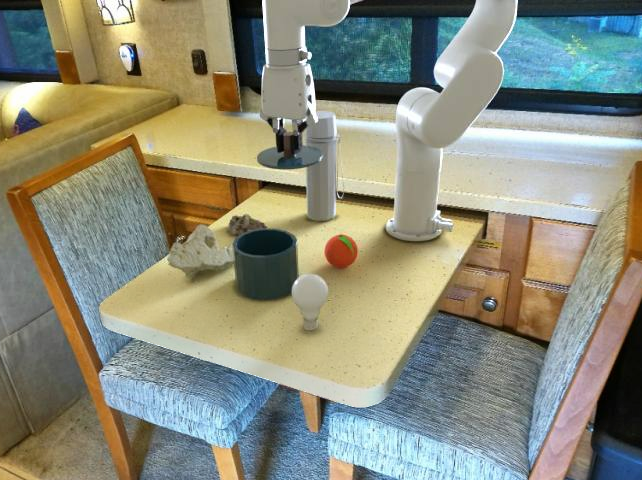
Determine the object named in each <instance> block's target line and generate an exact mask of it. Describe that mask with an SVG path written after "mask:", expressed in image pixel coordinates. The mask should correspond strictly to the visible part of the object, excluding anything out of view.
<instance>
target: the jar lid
mask: <svg viewBox="0 0 642 480" xmlns="http://www.w3.org/2000/svg"><path fill="white" fill-rule="evenodd" d="M292 135H293V131H287V132H285V133H283V134H282V136H283V152H281V153H278V152H277V146H272V147H269V148H266V149H264V150H261V151H260V152H258V154H257V155H256V161H257V163H258V164H259V165H260V166H262V167H264V168H268V169H273V170H280V171H281V170H284V171H285V170H288V171H289V170H299V169H306V167H309V166H312V165H315V164H317V163H319V162H320V161H321V160H322V158H323V153H322V152H321V151H320V150H319V149H317V148H314V147H311V146H305V144H303V147H302V150H301V152H299V153H297V154H296V155H292V154H291V136H292Z"/></svg>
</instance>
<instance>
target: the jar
mask: <svg viewBox="0 0 642 480" xmlns="http://www.w3.org/2000/svg"><path fill="white" fill-rule="evenodd" d="M298 245H299V244H298V239H297V237H296V235H295V234H294V233H292V232H290V231H288V230H286V229H281V228H276V227H275V228H274V227H267V228H262V229H255V230H250V231H248V232H245V233H242V234H240V235H237V236H236V237H235V238H234V239H233V241H232V243H231V249H232V250H233V260H234V264H233V271H234V279H235V285H236V289H237V291H238V292H239V293H240V295H242V296H243V297H246V298H248V299H251V300H256V301H274V300H279V299H282V298H286V297H288V296H289V295H292V293H291V291H292V286H293V284H294V282H295V281H296V279H297V278H299V277H300V275H299V271H300V270H299V246H298Z"/></svg>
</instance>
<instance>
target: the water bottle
mask: <svg viewBox="0 0 642 480" xmlns="http://www.w3.org/2000/svg"><path fill="white" fill-rule="evenodd" d="M315 114H316V116H317V119H318V121H317V122H316V123H315V124H313V125H310V126H308V127H307V128H306V129H305V131H304V137H305V138H304V145H305V146H311V147H314V148H317V149H319V150H320V151H321V152H322V153H323V158H322V160H321V161H320V162H319V163H317V164H315V165H312V166H309V167H305V186H306V189H305V191H306V192H305V193H306V215H307V217H308V218H309V219H311V220H312V221H315V222H327V221H330V220H332V219H333V218H335V216H336V214H337V198H338V199H343V198H344V195H345V181H344V180H345V179H344V172H343V170H341V177H342V186H343V187H342V188H343V190H342V194H341V195H342V196H339V193H338V189H339V186H338V185H339V165H337V158H339V157H340V158H339V159H340V160H342V154H341V152H340V150H341V145H340V143H341V138H342V137H341V135H340V134H338V131H337V130H338V129H337V119H336V118H337V117H336V113H335V112H333V111H330V110H317V111H316V110H315ZM307 119H308V117H307V115H306V118H305V121H306V120H307ZM336 137H337V138H336ZM337 144H338V147H337ZM340 166H341V169H343V163H342V161H340Z"/></svg>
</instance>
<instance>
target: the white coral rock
mask: <svg viewBox="0 0 642 480" xmlns="http://www.w3.org/2000/svg"><path fill="white" fill-rule="evenodd" d="M167 265H168V266H169V267H172V268H174V269H178V270H180V271H181V272H182V273H184V274H185V277H187V279H188V280H189V281H191V280H193V278H194V277H195V274H196V273H200V272H201V271H203V270H212V271H221V270H223V269H226V268H228V267H231V266H234V260H233V250H232V247H229V246H228V247H227V246H222V247H221V248H219V247H218V240H217V236H216V234H215V232H214V231H213V230H211V229H210V227H209V226H208V225H205V224H201V223H200V224H198V225H197V226H196V228H195V229H194V231H193V232H192V233H191V234H189V236H188V238H187V239H186V241H184V242H183V243H180V242H179V238H176V242H173V244H172V246H171V248H170V251H169V253H168V257H167Z"/></svg>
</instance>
